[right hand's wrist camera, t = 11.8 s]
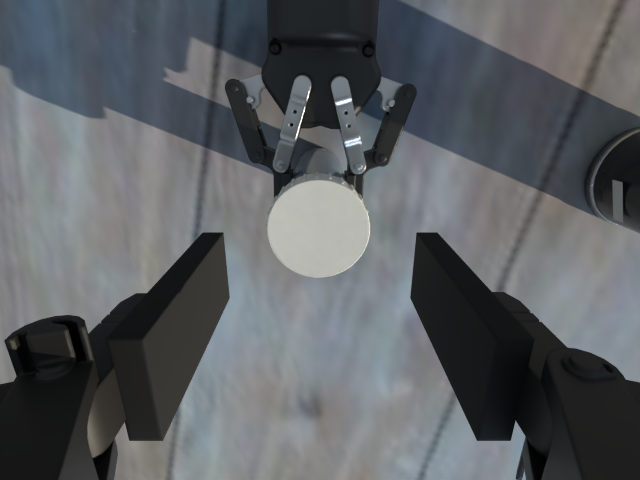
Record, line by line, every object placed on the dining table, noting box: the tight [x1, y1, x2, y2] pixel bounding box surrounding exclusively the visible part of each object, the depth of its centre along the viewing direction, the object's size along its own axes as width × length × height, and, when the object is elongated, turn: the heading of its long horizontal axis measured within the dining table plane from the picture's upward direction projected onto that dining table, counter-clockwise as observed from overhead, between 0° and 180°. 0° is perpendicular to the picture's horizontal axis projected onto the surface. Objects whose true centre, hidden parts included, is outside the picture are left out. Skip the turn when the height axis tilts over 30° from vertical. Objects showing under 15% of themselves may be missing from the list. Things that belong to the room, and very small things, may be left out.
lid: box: [266, 172, 370, 277], centre depth 19 cm, size 5×5×2 cm
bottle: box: [291, 148, 346, 182], centre depth 27 cm, size 4×4×18 cm
